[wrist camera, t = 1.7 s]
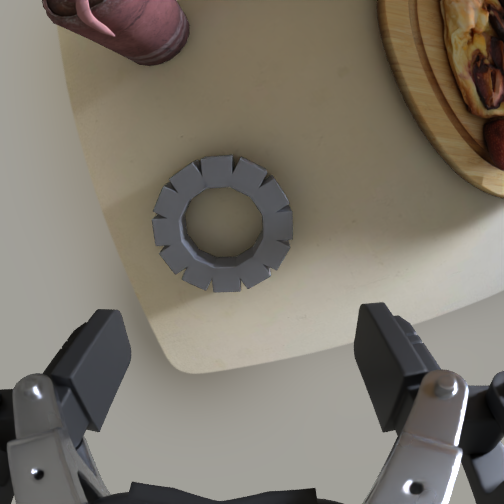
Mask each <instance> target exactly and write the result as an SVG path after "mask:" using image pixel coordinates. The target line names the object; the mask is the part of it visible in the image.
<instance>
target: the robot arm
mask: <svg viewBox="0 0 504 504" xmlns="http://www.w3.org/2000/svg"><path fill="white" fill-rule="evenodd" d="M354 355H355V359H356V362H357V365H358V367H359V370H360V372H361V375H362V377H363V380H364V382H365V385H366V388H367V391H368V393H369V395H370V398H371V401H372V404H373V406H374V409H375V412H376V415H377V417H378V420H379V423H380V426H381V428H382V431H383V432H388V431H393V430H396V433H397V435H398V437H397V439H396V441H395V443H394V445H393V448H392V450H391V452H390V454H389V456H388V458H387V460H386V462H385V464H384V466H383V468H382V470H381V472H380V474H379V475H378V478H377V479H376V481H375V483H374V485H373V487H372V488H371V490H370V492H369V494H368V495H367V497H366V498H365V500H364V502H363V503H362V504H448V501H449V498H450V495H451V492H452V489H453V486H454V483H455V480H456V476H457V473H458V469H459V466H460V462H462V465H463V468H464V470H465V473H466V476H467V478H468V481H469V483H470V486H471V489H472V492H473V495H474V498H475V501H476V504H504V447H503V445H502V443H501V439H502V438H503V437H504V371H502V372H499V373H497V374H496V375H495V376H494V378H493V380H492V382H491V384H490V386H468V385H467V383H466V381H465V380H464V379H463V378H462V377H461V376H460V375H458V374H456V373H454V372H452V371H449V370H441V368H440V367H439V365H438V364H437V362H436V361H435V359H434V358H433V356H432V355H431V353H430V352H429V350H428V349H427V347H426V346H425V345H424V343H422V340H421V339H420V337H419V336H418V335H417V334H416V331H415V330H414V329H413V327H412V326H411V324H410V323H409V322H407V321H406V320H404V319H403V318H401V317H400V316H393V315H392V313H391V312H390V310H389V309H388V307H387V306H386V305H385V303H383V302H380V303H369V304H362V305H361V306H360V309H359V315H358V321H357V328H356V334H355V340H354ZM130 361H131V347H130V343H129V340H128V336H127V333H126V330H125V326H124V322H123V318H122V315H121V313H120V311H118V310H109V309H108V310H107V309H98V310H96V312H95V313H94V314H93V315H92V317H91V318H90V319H89V321H88V322H87V323H86V322H85V323H84V324H83V325H81V326H80V327H78V328H77V329H76V330H74V331H73V333H72V334H71V335H70V337H69V338H68V341H66V342H65V343H64V345H63V346H62V349H60V350H59V352H58V353H57V354H56V356H55V357H54V358H53V360H52V361H51V363H50V364H49V365H48V367H47V368H46V370H45V371H44V372H43V374H40V373H36V374H31V375H28V376H26V377H24V378H22V379H21V380H20V381H19V382H18V383H17V384H16V385H15V387H14V389H4V390H0V504H11V502H12V499H13V496H14V495H15V500H16V504H343V503H339V502H336V501H331V500H326V499H317V496H316V489H315V488H310V489H301V490H287V491H269V492H265V493H260V494H257V495H252V496H247V497H242V498H237V499H232V500H226V501H215V500H211V499H208V498H204V497H200V496H197V495H194V494H191V493H187V492H184V491H181V490H178V489H175V488H170V487H162V486H155V485H149V484H143V483H136V482H132V483H131V487H130V490H129V492H125V493H117V494H113V495H111V494H110V492H109V491H108V490H107V488H106V486H105V485H104V483H103V481H102V478H101V476H100V474H99V471H98V469H97V467H96V464H95V462H94V459H93V457H92V454H91V452H90V449H89V446H88V444H87V441H86V439H85V438H84V436H83V435H84V433H85V431H86V430H92V431H96V432H100V430H101V427H102V425H103V422H104V420H105V418H106V415H107V413H108V411H109V408H110V406H111V404H112V402H113V399H114V397H115V395H116V393H117V390H118V388H119V386H120V384H121V381H122V379H123V377H124V375H125V372H126V370H127V368H128V366H129V364H130Z"/></svg>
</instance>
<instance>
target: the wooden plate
mask: <svg viewBox="0 0 504 504" xmlns="http://www.w3.org/2000/svg"><path fill="white" fill-rule="evenodd" d="M377 16H378V23H379V30H380V34H381V39H382V43H383V47H384V50H385V53H386V57H387V60H388V63H389V65H390V68H391V71H392V73H393V76H394V78H395V81H396V83H397V85H398V87H399V90H400V92H401V94H402V96H403V99H404V101H405V103H406V105H407V106H408V108H409V110H410V112H411V114H412V116H413V118H414V119H415V121H416V123H417V124H418V126H419V127H420V129H421V131H422V132H423V134H424V135H425V136H426V138H427V139H428V141H429V142H430V143H431V145H432V146H433V147H434V149H435V150H436V151H437V153H438V154H439V155H440V156H441V157H442V158H443V159H444V161H445V162H446V163H447V164H448V165H449V166H450V167H451V168H452V169H453V170H454V171H455V172H456V173H457V174H458V175H459V176H460V177H462V178H463V179H464V180H465V181H467V182H468V183H470V184H471V185H473V186H474V187H476V188H478V189H480V190H482V191H483V192H486V193H488V194H491V195H493V196H496V197H500V198H504V0H377Z"/></svg>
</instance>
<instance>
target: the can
mask: <svg viewBox="0 0 504 504" xmlns="http://www.w3.org/2000/svg"><path fill="white" fill-rule="evenodd" d="M42 3H43V7H44V9H45V10H46V13H47V16H48V17H49V18H50V19H51V21H53V23H54V24H57V25H59V26H61V27H64V28H66V29H68V30H70V31H73V32H75V33H77V34H79V35H81V36H83V37H86V38H88V39H90V40H92V41H94V42H96V43H98V44H100V45H102V46H104V47H106V48H108V49H110V50H112V51H114V52H116V53H118V54H120V55H122V56H124V57H126V58H128V59H130V60H132V61H134V62H136V63H138V64H140V65H147V66H151V65H158V64H162V63H164V62H166V61H168V60H170V59H172V58H173V57H174V56H175V55H177V54H178V53H179V52H180V51H181V49H182V48H183V47H184V45H185V44H186V42H187V39H188V36H189V22H188V20H187V18H186V15H185V14H184V12H183V11H182V9H181V7H180V6H179V4H178V2H177V1H176V0H42Z"/></svg>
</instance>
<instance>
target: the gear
mask: <svg viewBox="0 0 504 504" xmlns="http://www.w3.org/2000/svg"><path fill="white" fill-rule="evenodd" d="M266 174H267V171H266V169H265V168H263V167H261V166H259V165H257V164H255V163H253V162H251V161H249V160H247V159H245V158H243V157H240V159H239V161H238V163H237V165H236V167H235V169H234V162H233V155H222V156H208V157H204V158H202V159H201V164H200V163H199V161H198V160H196V161H194V162H192V163H190V164H189V165H187V166H186V167H185V168H183V169H182V170H180V171H179V172H178V173H176V174H175V175H173V176H172V177H171V178H169V180H170V182H169V183H167V184H166V185H164V186H163V188H162V190H161V193H160V195H159V197H158V200H157V202H156V205H155V207H154V209H153V212H155V213H157V215H156V216H155V217H154V218H153V219H152V225H153V231H154V238H155V245H156V246H164V247H163V249H162V250H161V251H160V253H159V254H160V256H161V257H162V258H163V259H164V261H165V262H166V263H167V265H168V266H169V267H170V269H171V270H172V271H173V272H174V274H177V273H179V272H180V271H182V270H184V269H185V268H186V270H185V273H184V275H183V277H182V280H183V281H186V282H188V283H190V284H192V285H194V286H196V287H199V288H201V289H203V290H205V291H206V290H207V288H208V286H209V284H210V282H211V280H212V284H213V292H240V291H241V281H242V282H243V283H244V285H245V286H246V287H247V289H249V288H251V287H253V286H255V285H256V284H258V283H260V282H262V281H263V280H265V279H267V278H269V277H270V276H271V272H270V268H272V269H274V270H277V269H278V268H279V266H280V264H281V263H282V261H283V259H284V258H285V256H286V254H287V253H288V251H289V249H290V244H289V241H288V240H292V239H293V218H292V210H291V208H290V206H289V205H288V204H289V203H290V202H289V201H288V199H287V197H286V195H285V194H284V192H283V190H282V189H281V187H280V186H279V184H278V182H277V181H276V179H275V178H274V176H273V175H271V176H269V177H267V178H266V179H264V178H265V176H266ZM222 187H231V188H233V189H235V190H237V191H239V192H241V193H243V194H245V195H247V196H249V197H250V198H251V199H252V201H253V202H254V204H255V205H256V207H257V208H258V210H259V211H260V213H261V214H262V225H263V230H262V231H261V233H260V235H259V237H258V239H257V240H256V242H255V244H254V246H253V247H252V248H250V249H248V250H247V251H245V252H243V253H242V254H240V255H238V256H237V257H214V256H212V255H210V254H208V253H206V252H204V251H202V250H200V249H198V247H197V246H196V245H195V243H194V242H193V241H192V239H191V238H190V236H189V235H188V234H187V228H186V219H185V212H186V210H187V208H188V206H189V204H190V201H191V199H192V198H193V197H195V196H196V195H198V194H199V193H201V192H202V191H204V190H205V189H207V188H222Z"/></svg>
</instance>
